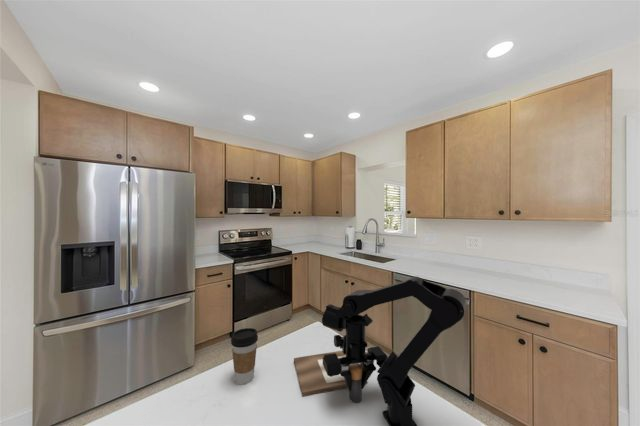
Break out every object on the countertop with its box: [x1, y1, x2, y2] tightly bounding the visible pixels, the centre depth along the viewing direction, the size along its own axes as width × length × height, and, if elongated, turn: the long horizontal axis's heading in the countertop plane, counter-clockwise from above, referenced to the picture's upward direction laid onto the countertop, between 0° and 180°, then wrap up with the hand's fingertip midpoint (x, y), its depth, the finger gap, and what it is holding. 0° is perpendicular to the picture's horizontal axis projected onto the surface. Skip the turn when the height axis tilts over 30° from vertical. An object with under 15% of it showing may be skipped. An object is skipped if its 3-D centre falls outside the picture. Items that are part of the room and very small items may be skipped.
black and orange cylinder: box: [348, 364, 363, 404], centre depth 68 cm, size 4×4×9 cm
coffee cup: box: [230, 327, 259, 385], centre depth 76 cm, size 8×8×15 cm
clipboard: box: [293, 350, 368, 397], centre depth 79 cm, size 17×21×2 cm
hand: (355, 389), depth 68 cm, fingers closed on black and orange cylinder, 4 cm apart
